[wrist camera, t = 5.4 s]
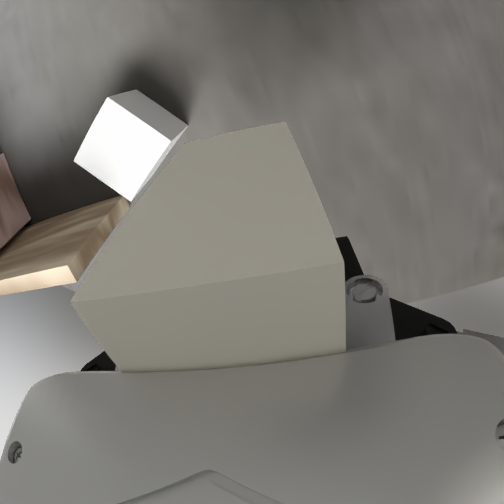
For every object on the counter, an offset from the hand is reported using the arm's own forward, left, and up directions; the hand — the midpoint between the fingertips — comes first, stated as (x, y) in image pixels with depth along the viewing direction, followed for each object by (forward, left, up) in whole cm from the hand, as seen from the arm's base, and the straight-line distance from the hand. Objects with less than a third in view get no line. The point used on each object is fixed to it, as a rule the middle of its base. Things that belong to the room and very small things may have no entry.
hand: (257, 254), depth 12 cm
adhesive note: (-4, -10, -17) cm, 20 cm away
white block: (0, 0, -2) cm, 2 cm away
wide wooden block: (-4, -24, -17) cm, 30 cm away
